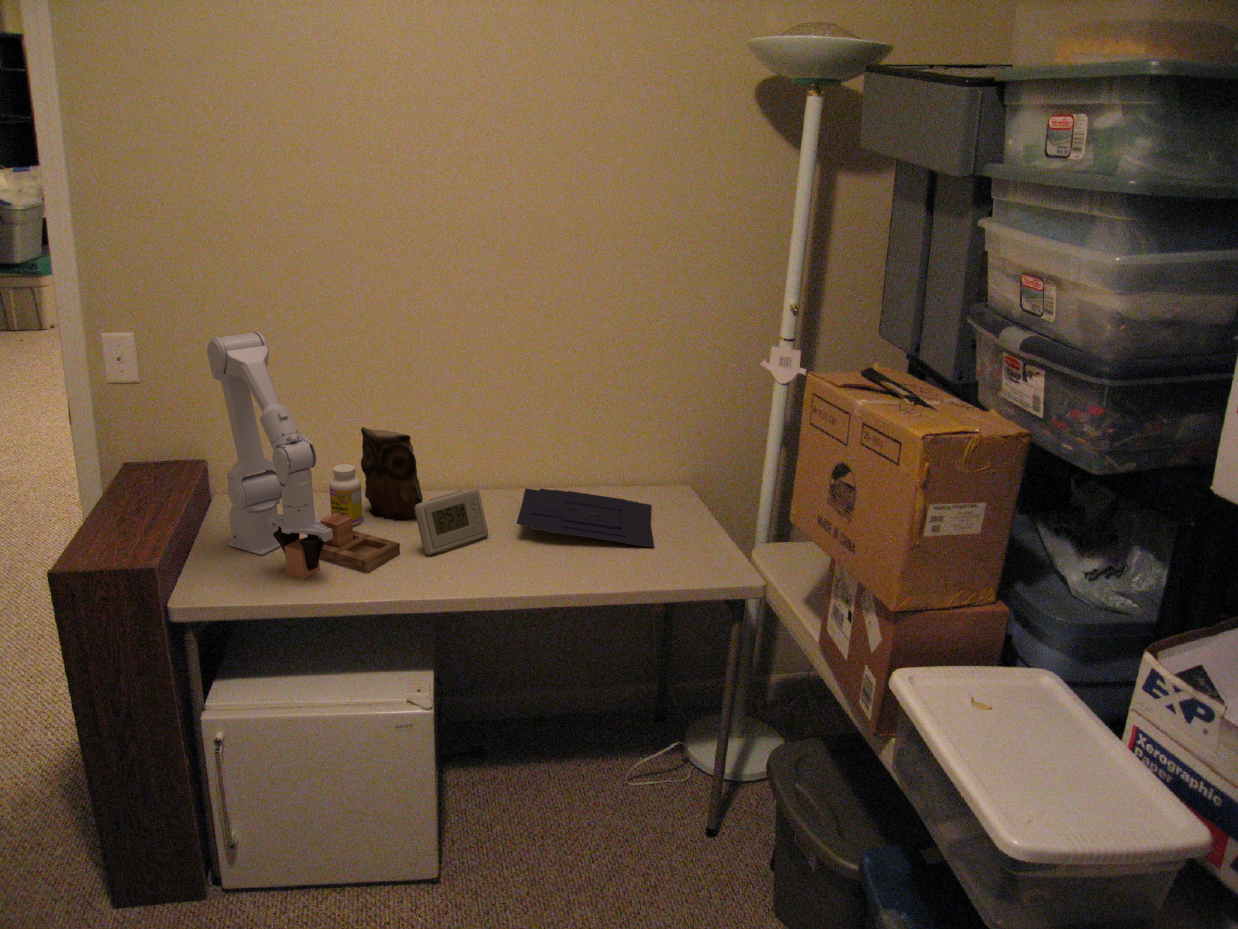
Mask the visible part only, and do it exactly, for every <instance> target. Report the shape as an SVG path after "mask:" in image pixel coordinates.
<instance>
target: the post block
mask: <svg viewBox="0 0 1238 929" xmlns="http://www.w3.org/2000/svg"><path fill="white" fill-rule="evenodd" d="M301 539H303V537H299V539H298V540H296V541H294V542H292V543H290V544H288V545H286V546H285V554H284V556H285V568H286V575H289V576H293V577H295V578H299V579H302V580H305V579H307V578H309V577H311V576H312V575H314V574H316V573H318V572H320V571H321V565H320V564H321V563H320V561H319V562H318V567H317V568H315V569H313V570H312V571H309V570H308V569H307V565H306V558H305V553H304V550H303V548H302V546H301V544H300V542H299V540H301Z"/></svg>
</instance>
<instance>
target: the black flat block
mask: <svg viewBox="0 0 1238 929" xmlns="http://www.w3.org/2000/svg"><path fill="white" fill-rule="evenodd" d="M651 522H652V504H648V503H643V502H638V501H633V500H627V499H625V498H617V497H611V496H604V495H598V494H597V495H596V494H591V493H584V492H578V491H570V490H567V491H566V490H559V489H547V488H540V487H539V490H538V489H533V488H532V489H531V488H528V487H527V488H526V487H525V489H524V492H523V497H522V502H521V507H520V509H519V513H518V517H517V520H516V523H515V524H516V525H521V526H526V527H531V529H533V530H541V531H545V532H548V533H552V534H553V533H554V534H560V535H570V536H578V537H583V538H590V539H596V540H597V539H598V540H602V541H603V540H605V541H609V542H617V543H622V544H628V545H632V546H638V547H639V546H641V547H647V548H648V547H649V548H655V542H654V536H653V530H652V526H651V525H652V523H651Z"/></svg>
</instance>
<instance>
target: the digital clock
mask: <svg viewBox="0 0 1238 929" xmlns="http://www.w3.org/2000/svg"><path fill="white" fill-rule="evenodd" d="M483 507H484V506H483V503H482V498H481V492H480V490H479V488H478V487H472V488H469V489H465V490H458V491H455V492H451V493H449V494H447V493H446V494H443V495H441V496H438V497H433V498H431V499H429V500H426V501H422V503H419V504H417V505H415V507H414V509H415V515H416V519H417V520H416V524H417V527H418V530H419V536H420V539H421V545H422V548H423V552H424V554H425V555H427V556H431V555H434V554H438V553H444V552H447V551H451V550H453V549H456V548H459V547H463V546H465V545H469V544H473V543H474V542H476V541H478V540H481V539H484V538H486V537H487V536H488V535H489V530H488V528H489V527H488V525H487V520H486V515H485V511H484V508H483Z"/></svg>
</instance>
